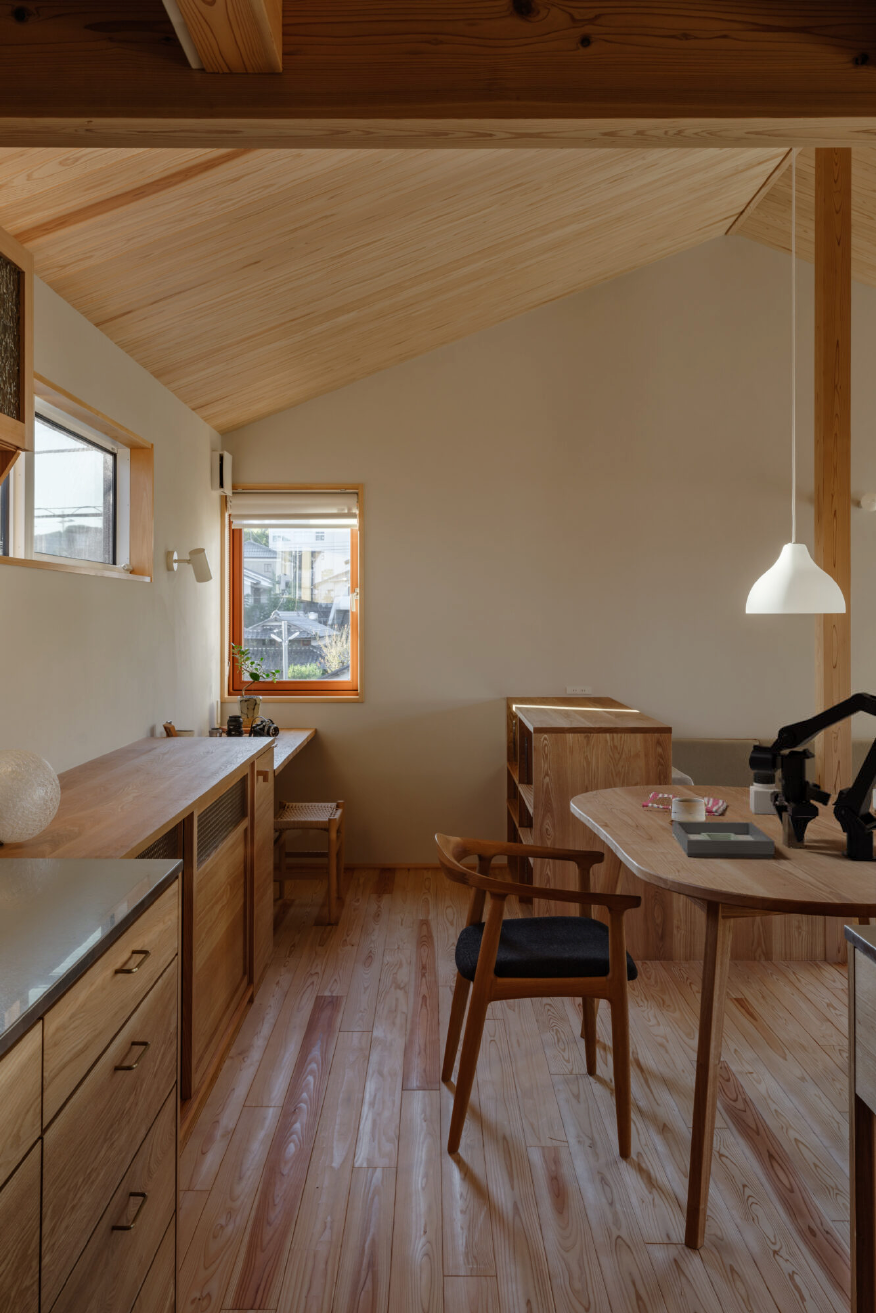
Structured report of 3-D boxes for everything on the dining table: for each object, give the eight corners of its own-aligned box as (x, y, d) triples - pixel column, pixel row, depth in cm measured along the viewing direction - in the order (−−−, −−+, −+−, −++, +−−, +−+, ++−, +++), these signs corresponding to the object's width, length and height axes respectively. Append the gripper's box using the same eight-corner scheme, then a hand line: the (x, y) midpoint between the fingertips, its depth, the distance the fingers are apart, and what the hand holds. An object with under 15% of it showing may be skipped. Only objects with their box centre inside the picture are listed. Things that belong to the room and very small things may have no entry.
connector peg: (804, 848, 206) (804, 815, 206) (787, 847, 207) (787, 815, 207) (799, 844, 210) (799, 812, 210) (782, 843, 211) (782, 812, 211)
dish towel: (650, 801, 268) (650, 790, 268) (727, 806, 258) (727, 795, 258) (640, 812, 252) (640, 800, 252) (722, 818, 243) (722, 806, 243)
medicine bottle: (779, 814, 244) (779, 773, 243) (753, 814, 245) (753, 773, 245) (774, 809, 251) (774, 769, 250) (749, 809, 252) (749, 769, 252)
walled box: (774, 858, 197) (774, 841, 197) (687, 856, 200) (687, 840, 199) (751, 837, 217) (751, 822, 217) (672, 836, 219) (672, 821, 219)
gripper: (841, 782, 198) (841, 847, 198) (814, 769, 217) (814, 829, 217) (792, 781, 199) (792, 847, 200) (769, 769, 218) (769, 828, 218)
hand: (793, 837), depth 209 cm, fingers open, 9 cm apart
